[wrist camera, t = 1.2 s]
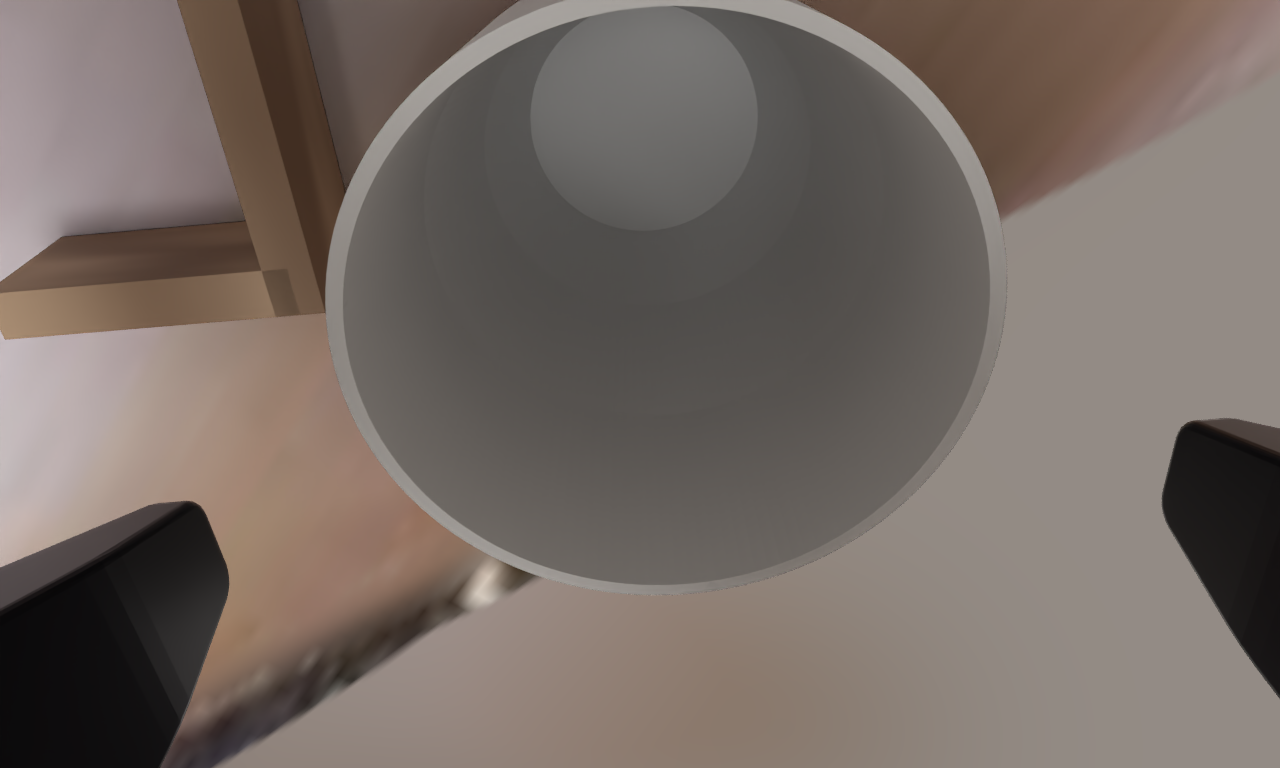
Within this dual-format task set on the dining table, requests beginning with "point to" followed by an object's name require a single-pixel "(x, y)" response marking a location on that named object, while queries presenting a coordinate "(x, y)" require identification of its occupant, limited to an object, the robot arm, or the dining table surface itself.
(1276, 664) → the robot arm
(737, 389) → the cup
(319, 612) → the dining table surface
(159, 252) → the narrow slot
